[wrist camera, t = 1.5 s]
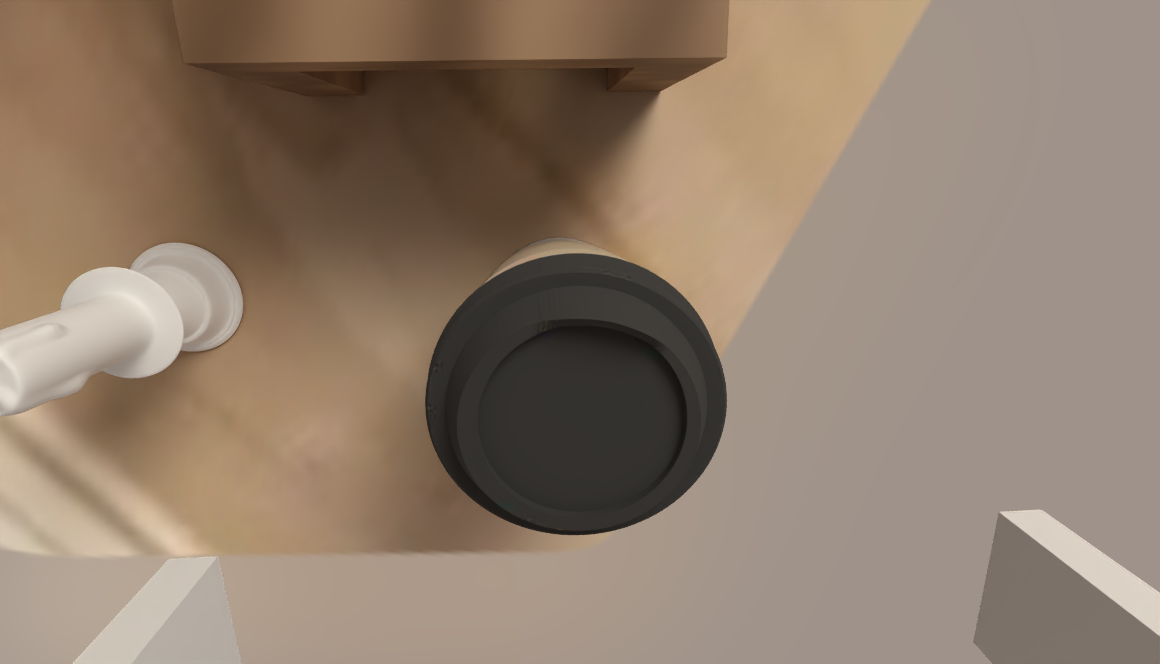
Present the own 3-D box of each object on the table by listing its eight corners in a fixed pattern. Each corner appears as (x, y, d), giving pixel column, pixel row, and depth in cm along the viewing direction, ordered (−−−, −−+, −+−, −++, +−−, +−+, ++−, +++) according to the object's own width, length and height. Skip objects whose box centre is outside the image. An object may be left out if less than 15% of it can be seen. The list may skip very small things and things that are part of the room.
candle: (268, 302, 30) (98, 395, 18) (194, 371, 30) (-15, 503, 19) (178, 218, 28) (-68, 261, 17) (103, 293, 29) (-183, 383, 17)
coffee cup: (624, 401, 32) (697, 597, 18) (455, 370, 31) (388, 554, 17) (668, 235, 30) (790, 308, 16) (487, 194, 29) (439, 234, 14)
